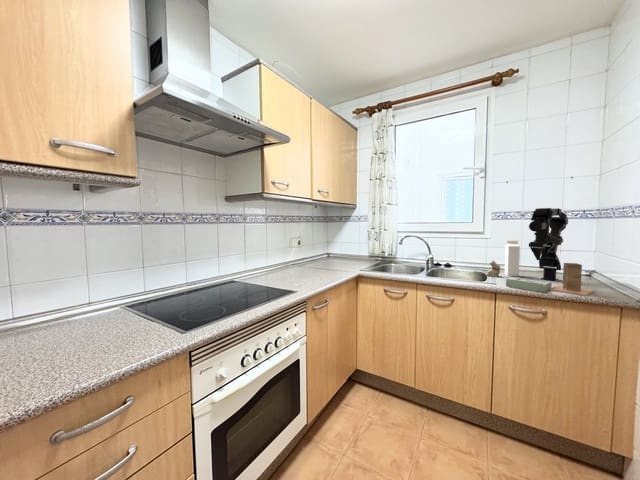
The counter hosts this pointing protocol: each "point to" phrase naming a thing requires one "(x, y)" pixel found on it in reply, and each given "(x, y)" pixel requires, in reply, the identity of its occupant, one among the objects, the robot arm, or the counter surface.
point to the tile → (583, 291)
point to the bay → (528, 285)
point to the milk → (512, 258)
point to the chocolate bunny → (493, 270)
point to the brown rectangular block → (572, 276)
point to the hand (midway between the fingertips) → (541, 259)
